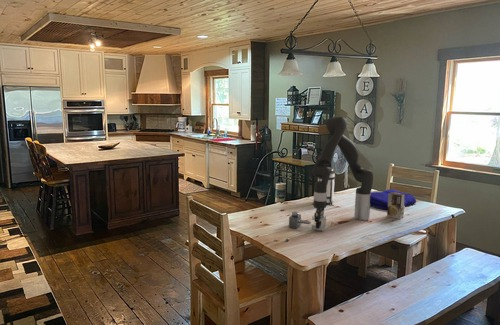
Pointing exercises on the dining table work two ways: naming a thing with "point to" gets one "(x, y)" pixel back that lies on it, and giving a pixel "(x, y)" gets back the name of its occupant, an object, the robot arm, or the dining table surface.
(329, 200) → the coffee press
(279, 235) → the dining table surface
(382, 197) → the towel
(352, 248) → the dining table surface
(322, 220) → the lock block
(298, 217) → the stubby hammer
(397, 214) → the coffee box
